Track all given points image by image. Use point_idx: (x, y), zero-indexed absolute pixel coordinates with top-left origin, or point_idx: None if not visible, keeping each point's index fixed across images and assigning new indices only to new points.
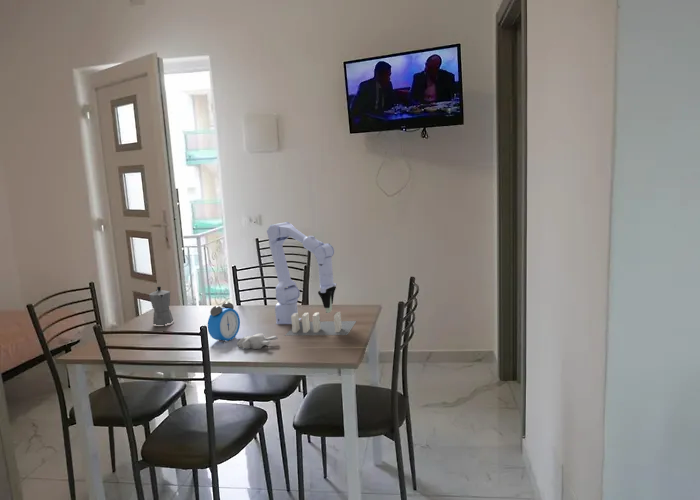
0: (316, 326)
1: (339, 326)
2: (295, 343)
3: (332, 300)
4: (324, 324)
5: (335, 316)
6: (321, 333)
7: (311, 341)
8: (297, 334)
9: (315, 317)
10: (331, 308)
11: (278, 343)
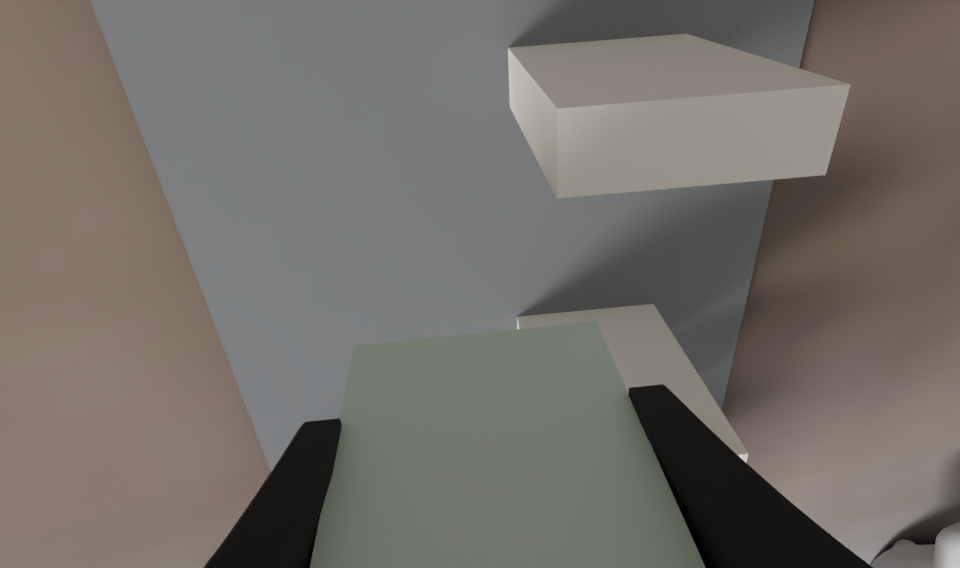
0: (680, 351)
1: (659, 47)
2: (918, 380)
3: (318, 488)
4: (350, 328)
5: (820, 133)
6: (702, 250)
7: (914, 267)
8: None
9: (732, 441)
10: (412, 362)
11: (867, 487)
